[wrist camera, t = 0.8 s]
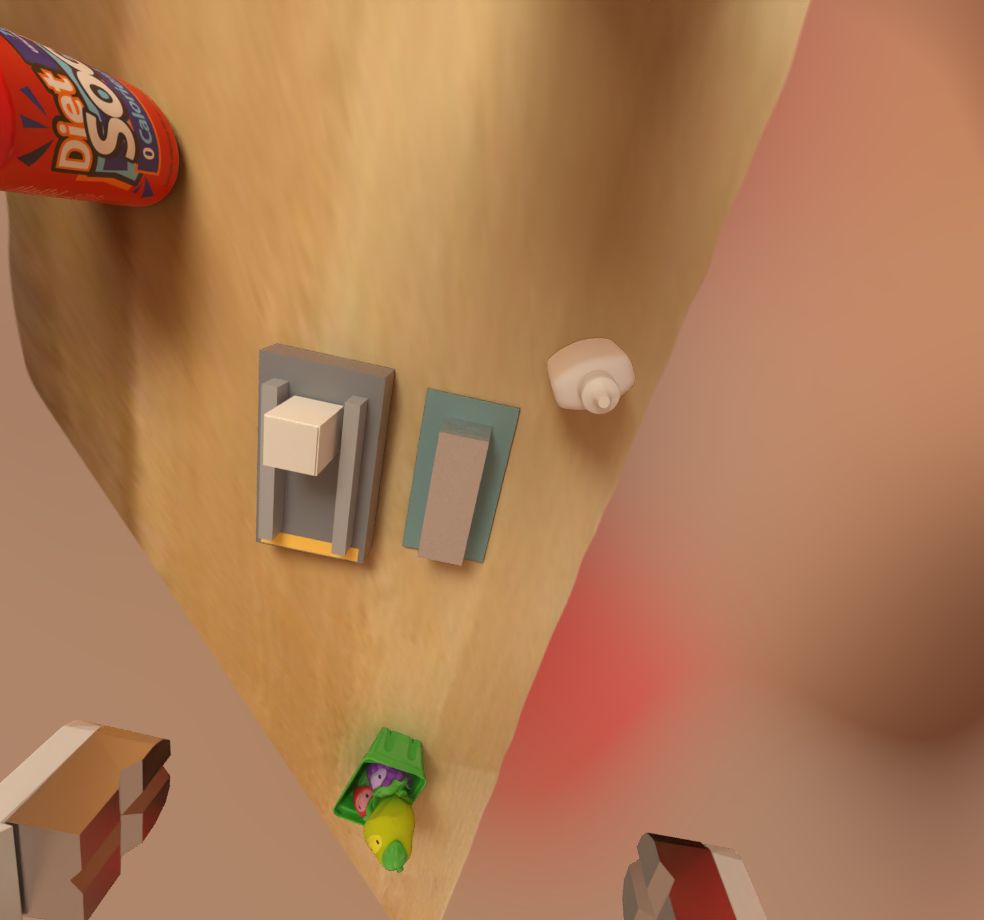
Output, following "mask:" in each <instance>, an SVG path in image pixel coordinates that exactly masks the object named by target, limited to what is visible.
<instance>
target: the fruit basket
mask: <svg viewBox="0 0 984 920" xmlns="http://www.w3.org/2000/svg"><path fill="white" fill-rule="evenodd" d="M425 785H426V778H425V773H424V768H423V756H422V744H421V742H420V741H418V740H412V739H411V738H410V737H407V736H405V735H402V734H400V733H397V732H393V731H391V732H390V730H388V729H387V728H382V729H381V731H380V732H379V734H378V736H377V738H376V739H375V741H374V743H373V744H372V746H371V748H370V749H369V751H368V753H367V754H366V755H365V756H364V758H363V760H362V761H361V763H360V765H359V767H358V768H357V770H356V772H355V773H354V774H353V776H352V777H351V779H350V781H349V782H348V784H347V786H346V787H345V789H344V791H343V793H342V795H341V796H340V798H339V800H338V801H337V803H336V805H335V806H334V808H333V813H334V814H335V815H336V816H338V817H340V818H343V819H346V820H349V821H352V822H354V823H357V824H360V825H362V826H364V838H365V841H366V843H367V845H368V846H369V848H370V849H371V851H372V852H373V853H374V855H375V856H376V857H377V858H378V860H379V862H380V863H381V864H382V866H383V867H384V868H385V869H386V870H388V871H394V870H396V869H397V872H398V873H399V872H401V871H403V865H404V864H405V863H406V861H407V860H408V859H409V857H410V855H411V852H412V838H413V833H414V827H415V815H414V811H413V808H412V806H411V805H412V804H413V802H414V801H415V799H416V798H417V796H418V795H419V793H420V792H421V791H422V789H423V788H424V786H425Z"/></svg>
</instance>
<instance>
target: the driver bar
mask: <svg viewBox="0 0 984 920" xmlns="http://www.w3.org/2000/svg"><path fill="white" fill-rule="evenodd" d="M491 429H492V426H489V425H484V424H480V423H475V422H471V421H466V420H461V419H457V418H452V417H448V416H447V417H446V419H445V421H444V423H443V425H442V427H441V430H440V432H439V437H438V443H437V448H436V454H435V460H434V465H433V471H432V477H431V482H430V488H429V494H428V499H427V505H426V511H425V516H424V522H423V528H422V533H421V539H420V545H419V550H418V556H417V557H421V558H426V559H431V560H435V561H440V562H445V563H450V564H454V565H459V566H462V562H463V558H464V553H465V549H466V544H467V540H468V535H469V531H470V526H471V522H472V517H473V513H474V508H475V504H476V499H477V495H478V490H479V486H480V481H481V477H482V472H483V468H484V463H485V459H486V454H487V450H488V445H489V440H490V435H491Z"/></svg>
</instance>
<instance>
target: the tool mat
mask: <svg viewBox="0 0 984 920" xmlns="http://www.w3.org/2000/svg"><path fill="white" fill-rule="evenodd" d="M519 411H520V408H516V407H511V406H507V405H502V404H497V403H493V402H488V401H484V400H479V399H475V398H470V397H466V396H461V395H456V394H452V393H447V392H443V391H438V390H434V389H429V388H428V389H427V395H426V402H425V408H424V414H423V420H422V427H421V433H420V439H419V445H418V452H417V458H416V464H415V470H414V477H413V483H412V489H411V495H410V502H409V508H408V514H407V520H406V526H405V533H404V539H403V545H402V546H405V547H410V548H415V549H419V545H420V539H421V533H422V528H423V522H424V516H425V511H426V505H427V499H428V494H429V488H430V482H431V477H432V471H433V465H434V460H435V454H436V448H437V443H438V437H439V432H440V430H441V427H442V425H443V423H444V421H445V419H446V417H447V416H448V417H452V418H457V419H461V420H466V421H471V422H475V423H480V424H484V425H489V426H492V429H491V435H490V440H489V445H488V450H487V454H486V459H485V463H484V468H483V472H482V477H481V481H480V486H479V490H478V495H477V499H476V504H475V508H474V513H473V517H472V522H471V526H470V531H469V535H468V540H467V544H466V549H465V553H464V558H463V559H467V560H472V561H477V562H482V563H483V559H484V555H485V551H486V547H487V543H488V539H489V535H490V530H491V526H492V522H493V518H494V514H495V510H496V506H497V502H498V497H499V493H500V489H501V485H502V481H503V477H504V473H505V468H506V464H507V460H508V456H509V452H510V448H511V444H512V440H513V435H514V431H515V427H516V423H517V419H518V415H519Z"/></svg>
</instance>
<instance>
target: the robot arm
mask: <svg viewBox="0 0 984 920" xmlns="http://www.w3.org/2000/svg"><path fill="white" fill-rule="evenodd" d="M170 751H171V750H170V740H167V739H163V738H158V737H154V736H150V735H145V734H141V733H136V732H132V731H128V730H123V729H118V728H114V727H110V726H106V725H101V724H96V723H91V722H86V721H81V720H74V721H72V722H70V723H68V724H66V725H65V726H63V727H61V728H60V729H59V730H58V731H57V732H56V733H55V734H54V735H53V736H51V737H50V738H49V739H48V740H47V741H46V742H45V743H44V744H43V745H42V746H41V747H39V748H38V749H37V750H36V751H35V752H34V753H33V754H32V755H31V756H30V757H28V758H27V759H26V760H25V761H24V762H23V763H22V764H21V765H20V766H19V767H17V768H16V769H15V770H14V771H13V772H12V773H11V774H10V775H9V776H8V777H6V778H5V779H4V780H3V781H2V782H1V783H0V920H23V917H22V916H25V917H31V918H38V919H45V920H88V919H89V918H90V917H91V915H92V914H93V912H94V911H95V909H96V908H97V907H98V905H99V904H100V902H101V901H102V899H103V898H104V897H105V895H106V894H107V892H108V891H109V889H110V888H111V887H112V885H113V884H114V882H115V881H116V880H117V878H118V877H119V875H120V872H121V856H123V855H124V854H126V853H127V852H129V851H130V850H132V849H133V848H135V847H137V846H138V845H140V844H141V843H142V842H143V841H144V840H145V838H146V837H147V835H148V834H149V832H150V831H151V829H152V828H153V826H154V825H155V823H156V821H157V819H158V817H159V815H160V813H161V811H162V809H163V807H164V805H165V803H166V799H167V796H168V791H169V787H170V775H169V773H168V772H167V771H166V769H165V768H164V767H163V765H164V763H165V762H166V761H167V759H168V758H169V757H170V755H171V752H170ZM637 849H638V854H639V858H640V859H639V860H637V861H636V862H634V863H632V864H631V865H629V867H628V870H627V873H626V876H625V879H624V887H623V914H624V920H767V918H766V915H765V913H764V911H763V909H762V906H761V904H760V901H759V899H758V897H757V895H756V892H755V890H754V888H753V885H752V883H751V881H750V878H749V876H748V874H747V871H746V869H745V867H744V865H743V862H742V860H741V858H740V856H739V855H738V854H737V853H736V851H735V850H732V849H729V848H724V847H719V846H714V845H708V844H702V843H701V842H697V841H691V840H686V839H680V838H675V837H669V836H664V835H658V834H652V833H646V834H644V835H643V836H641V839H640V841H639V843H638V846H637Z"/></svg>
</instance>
